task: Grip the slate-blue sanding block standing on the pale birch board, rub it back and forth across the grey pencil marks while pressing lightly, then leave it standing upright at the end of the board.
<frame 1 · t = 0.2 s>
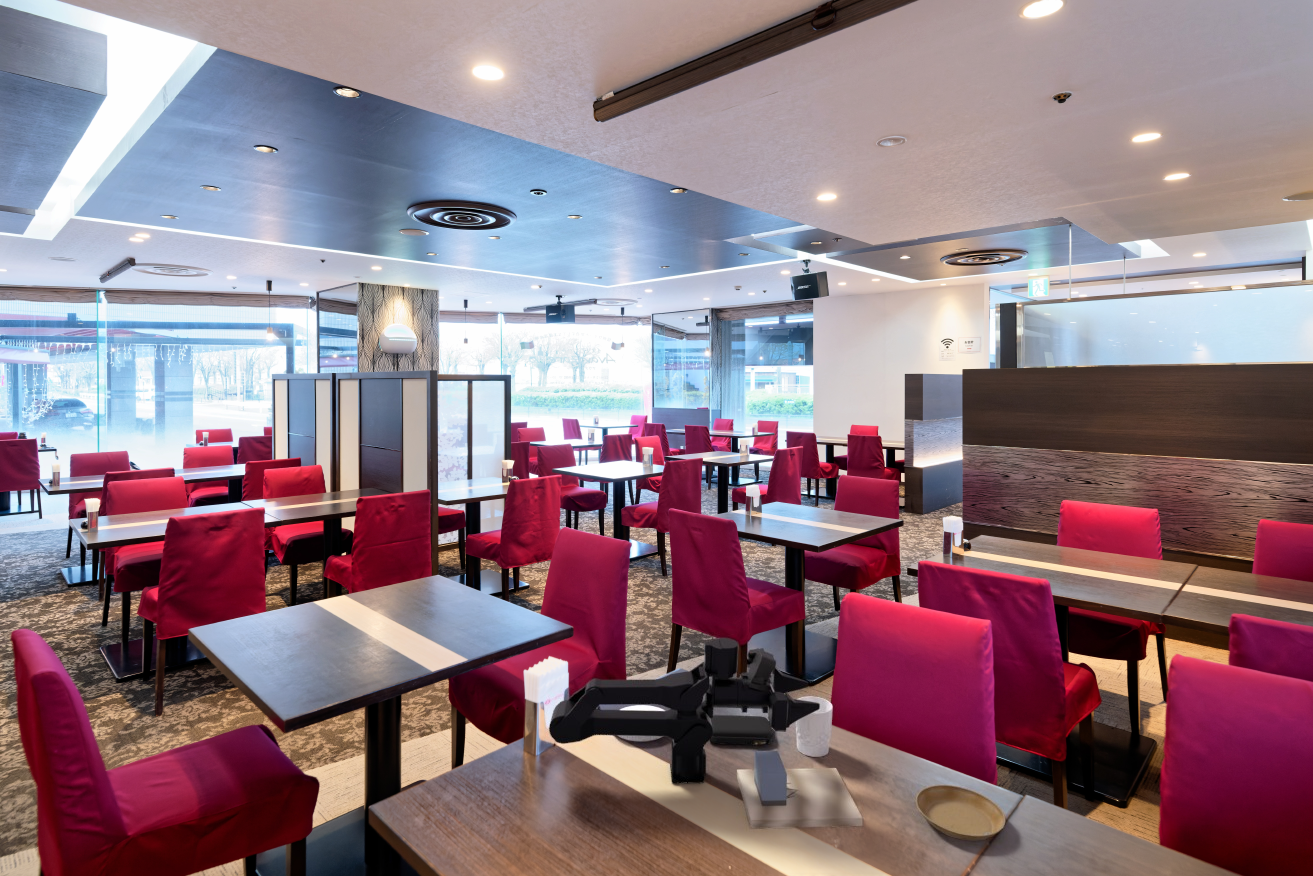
hand: (813, 694, 136), 16 cm above the table, tool horizontal, fingers open, 9 cm apart
sanding block: (769, 792, 128), point 2 cm above the table, touching board
white cup: (812, 750, 147), on the table
plant saucer: (958, 823, 123), on the table
carrying case or bag: (739, 738, 152), on the table
plastic lid: (641, 730, 156), on the table
board: (795, 800, 129), on the table
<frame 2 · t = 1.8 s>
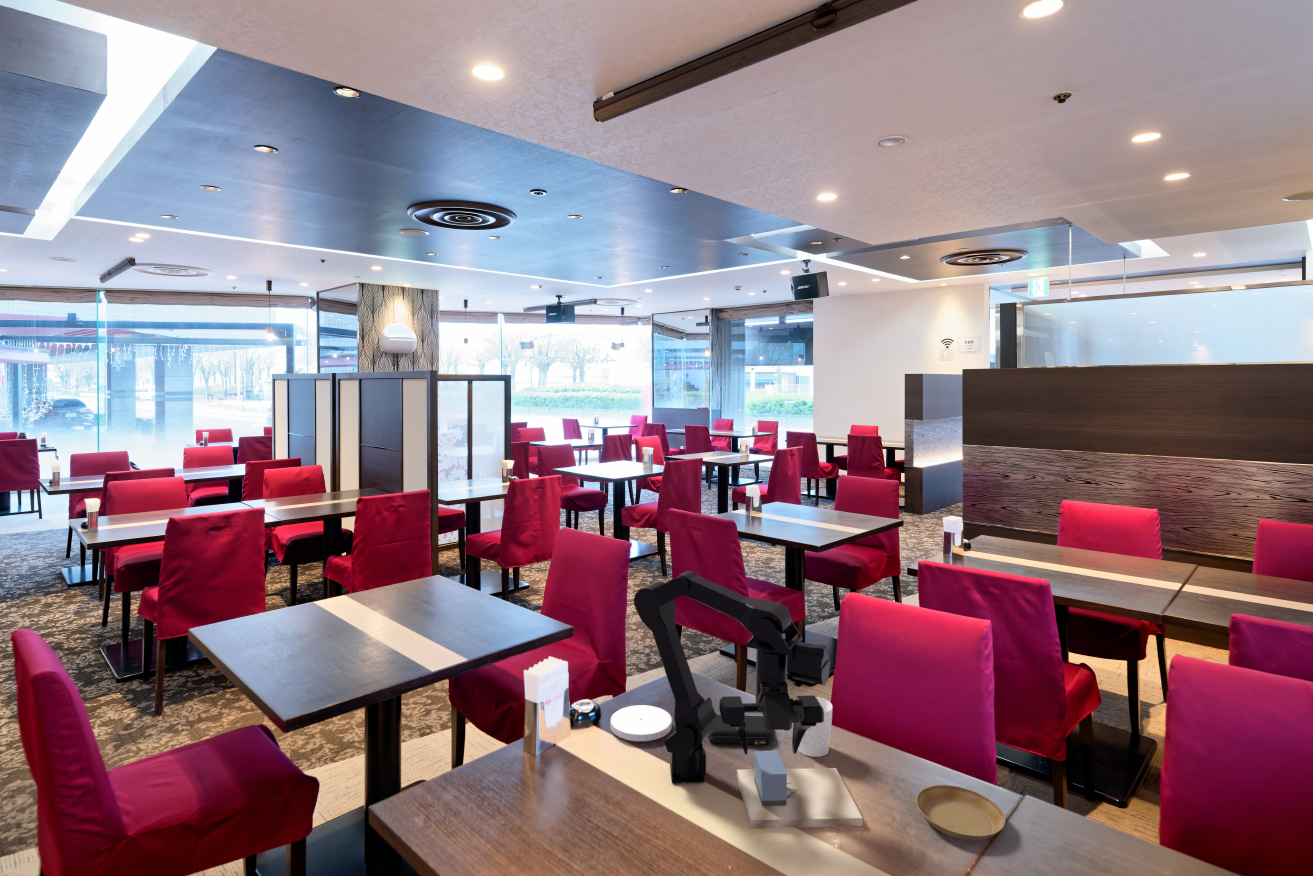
hand: (770, 753, 128), 9 cm above the table, tool pointing down, fingers open, 9 cm apart
nothing on the table moved.
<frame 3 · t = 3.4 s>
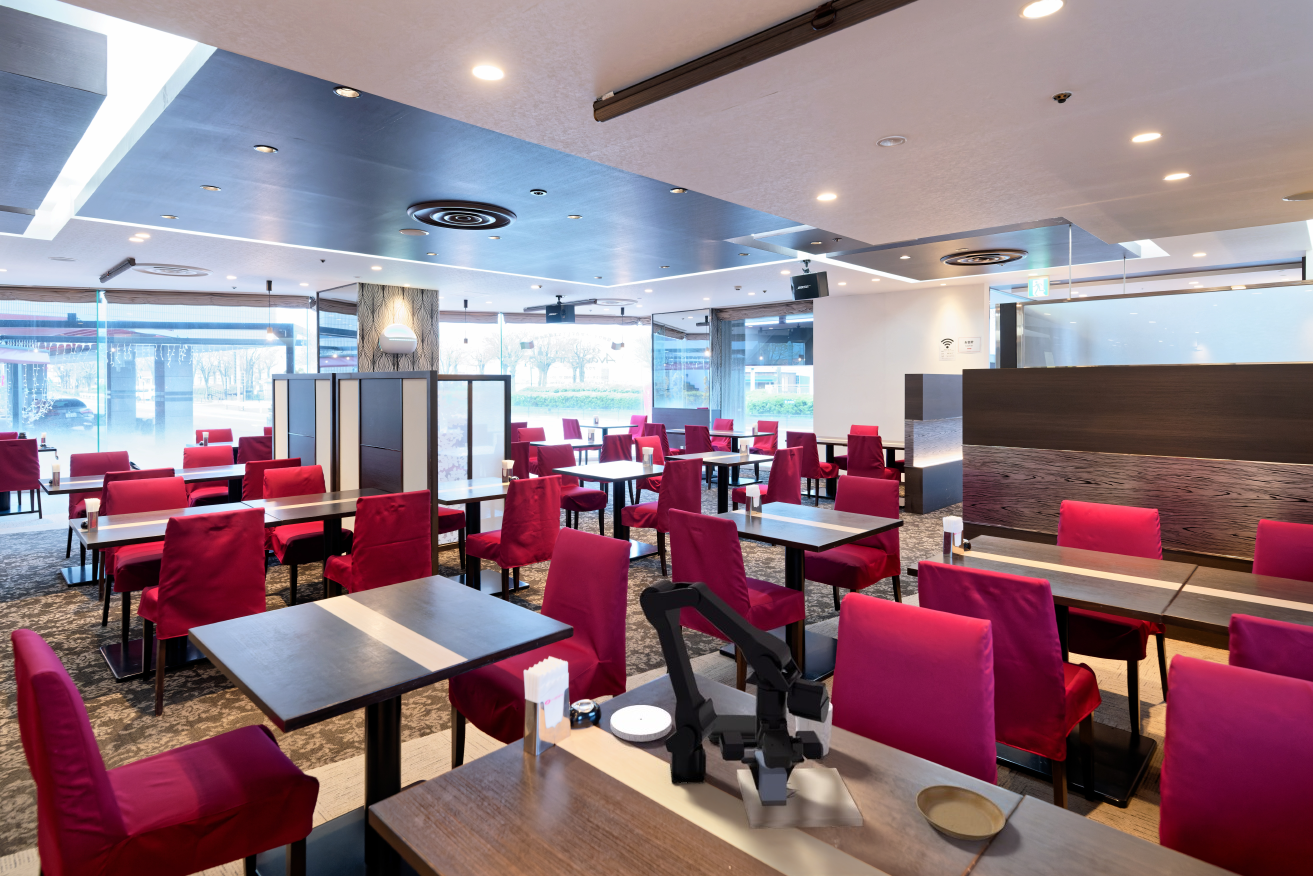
hand: (769, 788, 128), 2 cm above the table, tool pointing down, fingers closed on sanding block, 4 cm apart
sanding block: (769, 792, 128), point 2 cm above the table, touching board, gripper
everything else where it was.
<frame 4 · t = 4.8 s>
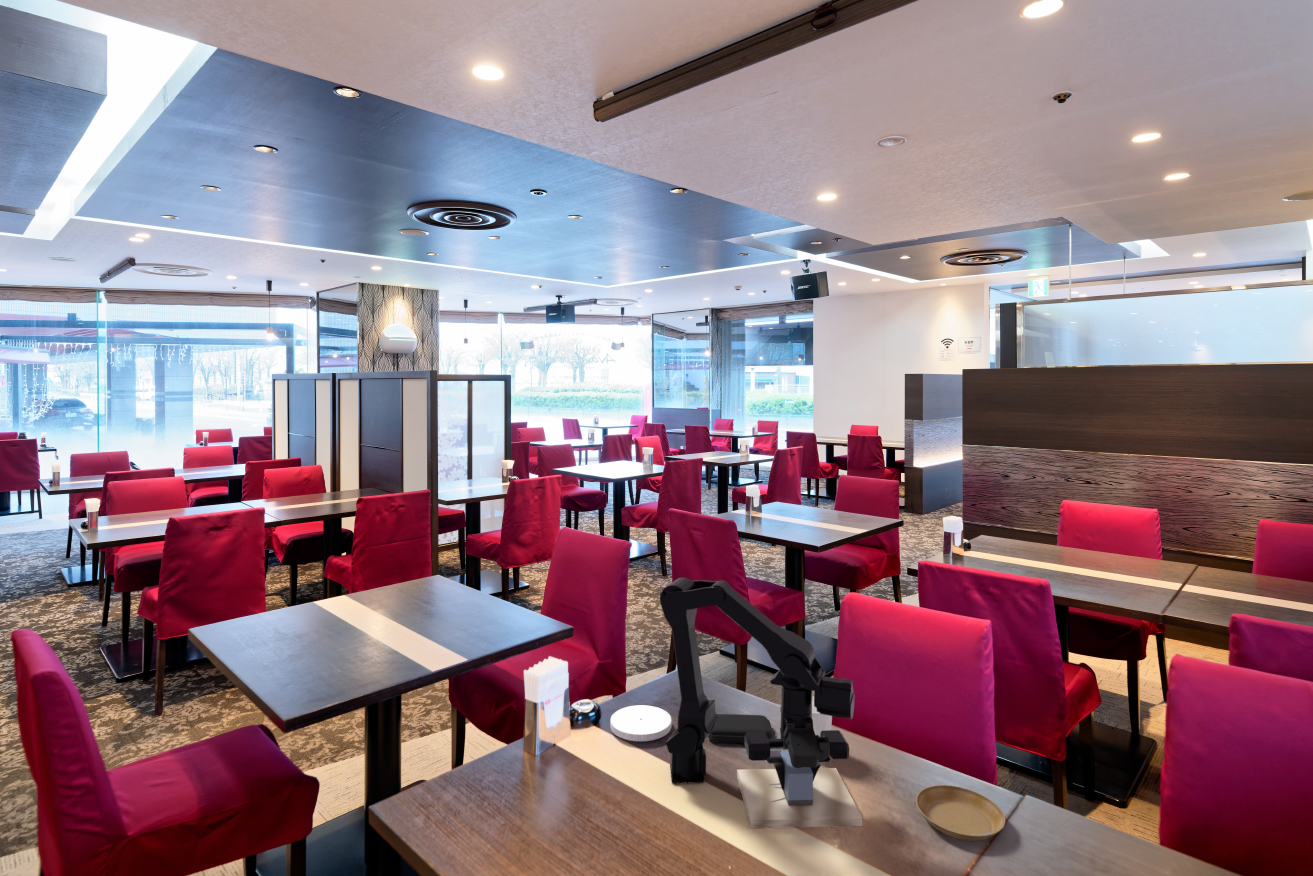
hand: (795, 788, 128), 2 cm above the table, tool pointing down, fingers closed on sanding block, 4 cm apart
sanding block: (795, 792, 128), point 2 cm above the table, touching gripper
everything else where it was.
when the fingers open (2 cm above the table, at t = 6.4 s): sanding block stays where it is, resting on board.
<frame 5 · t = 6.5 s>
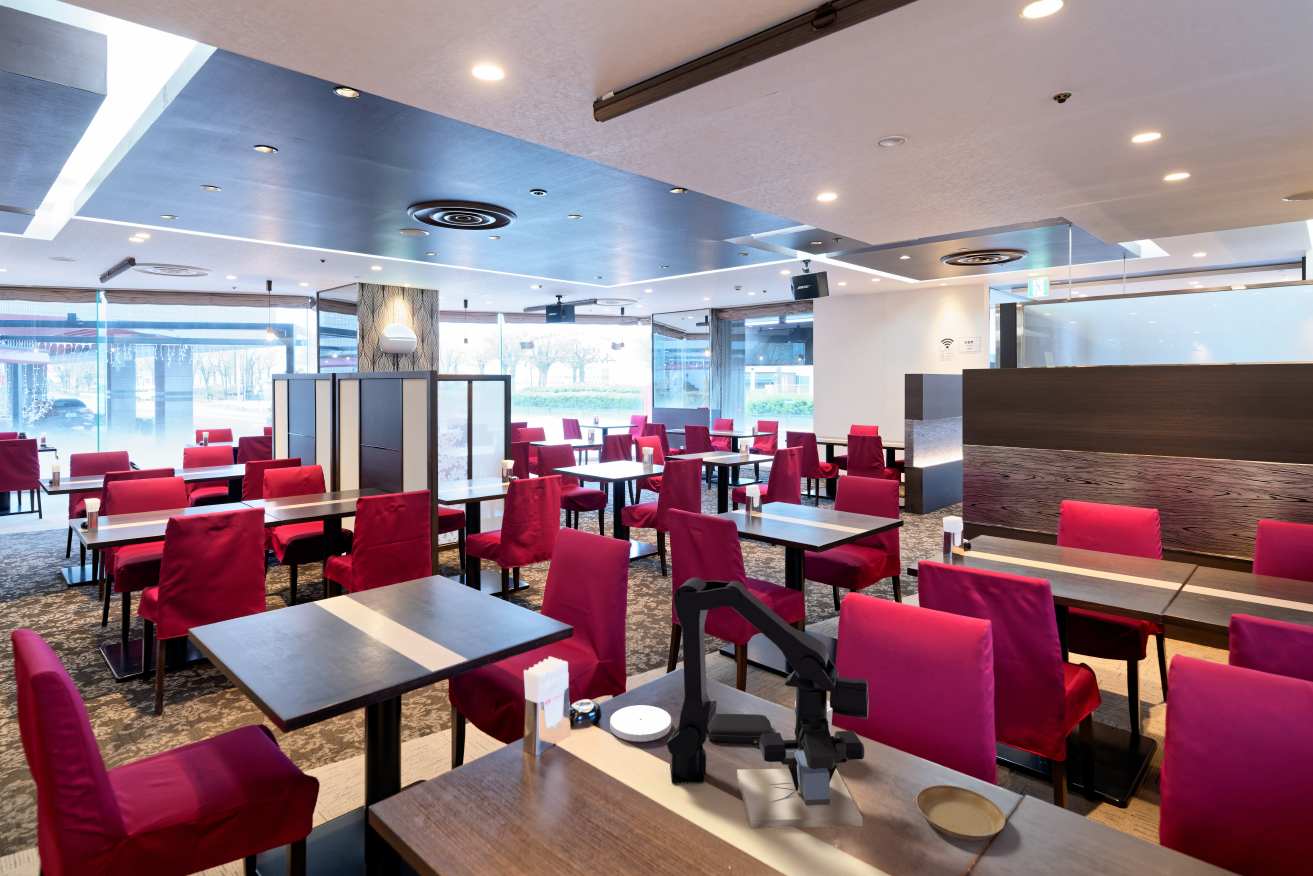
hand: (810, 789, 128), 2 cm above the table, tool pointing down, fingers open, 5 cm apart
sanding block: (812, 791, 129), point 2 cm above the table, touching board, gripper
everything else where it was.
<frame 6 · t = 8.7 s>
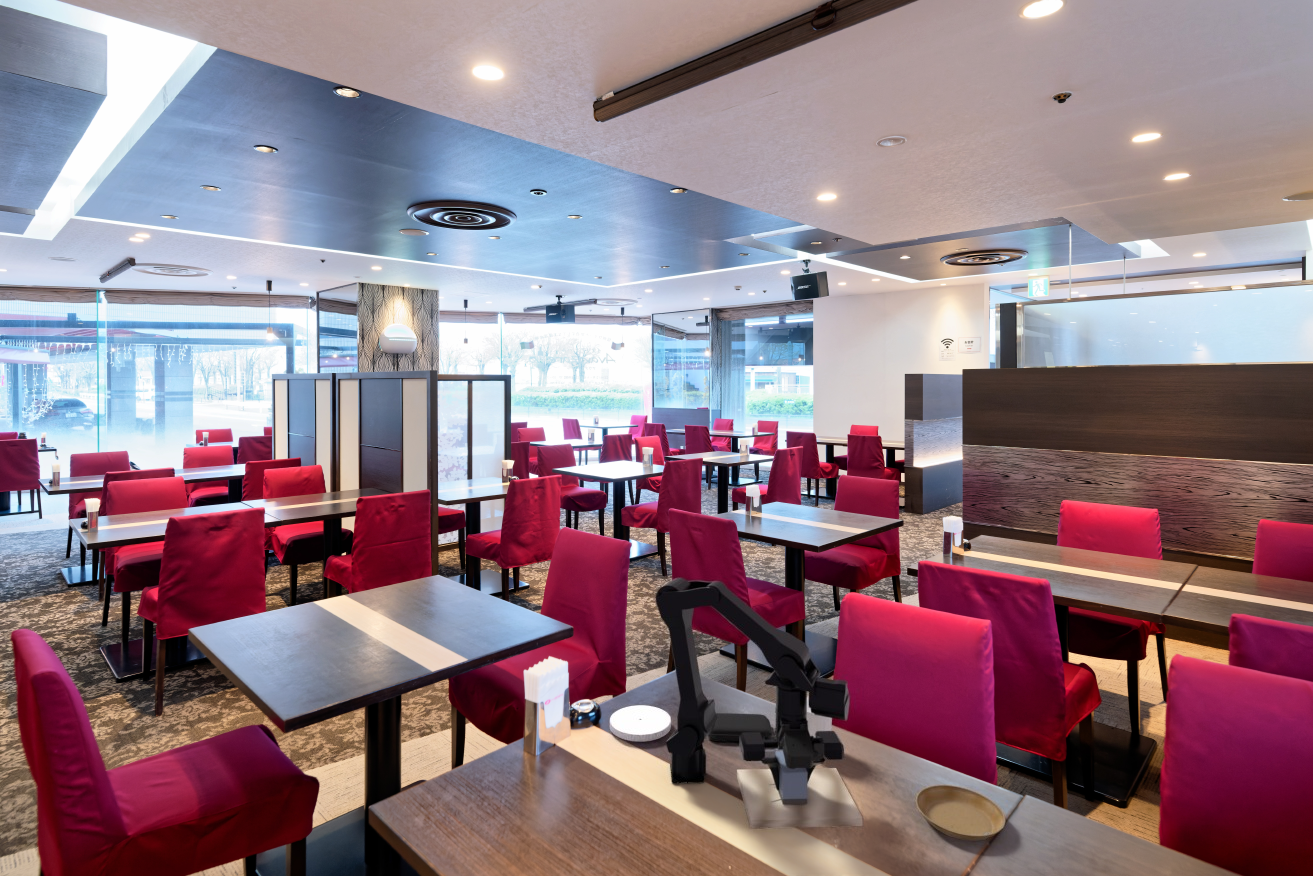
hand: (790, 789, 128), 2 cm above the table, tool pointing down, fingers closed on sanding block, 4 cm apart
sanding block: (790, 791, 128), point 2 cm above the table, touching gripper
everything else where it was.
when the fingers open (2 cm above the table, at t = 11.0 s): sanding block stays where it is, resting on board.
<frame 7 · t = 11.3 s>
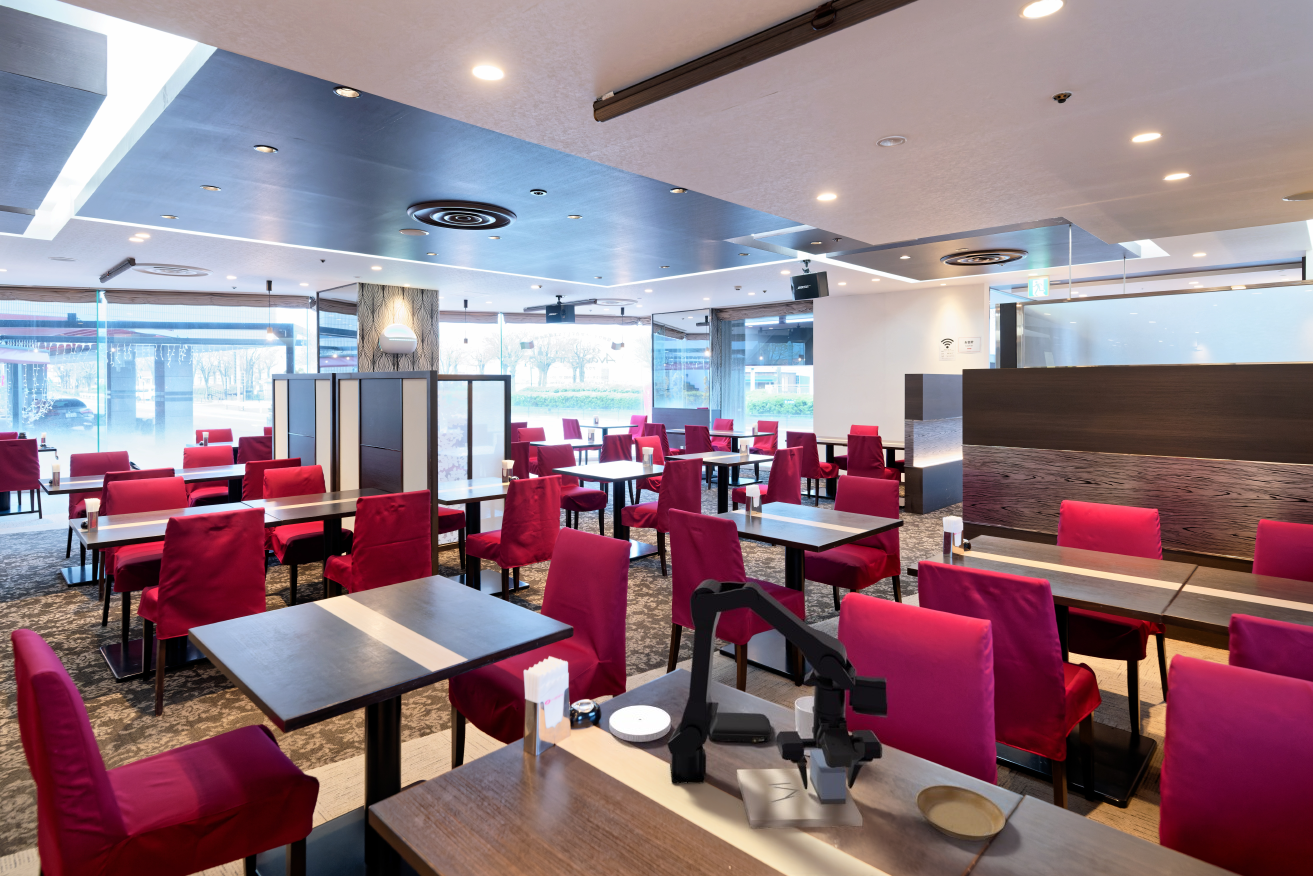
hand: (827, 787, 129), 2 cm above the table, tool pointing down, fingers open, 8 cm apart
sanding block: (827, 791, 129), point 1 cm above the table, touching board
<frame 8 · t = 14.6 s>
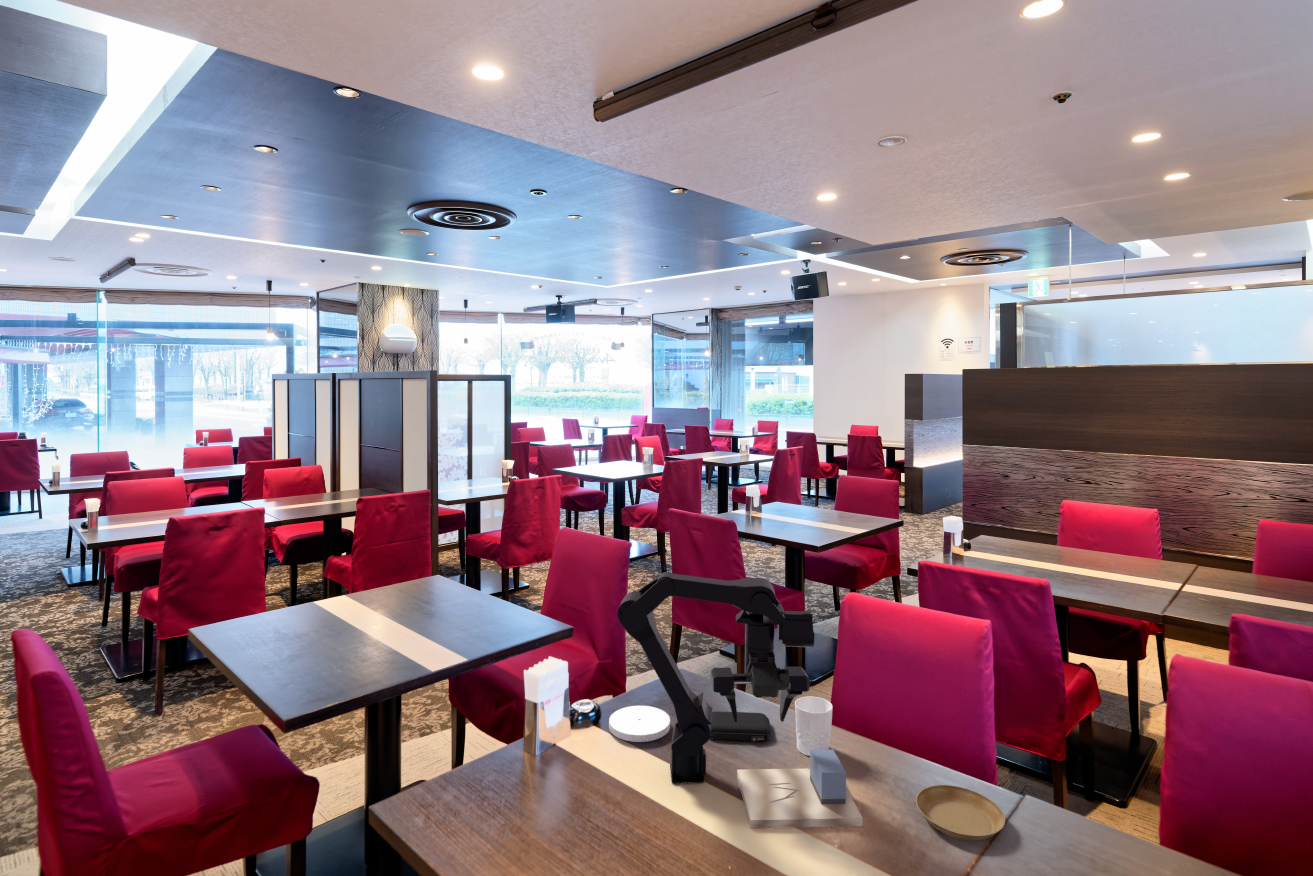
hand: (758, 721, 134), 12 cm above the table, tool pointing down, fingers open, 9 cm apart
at the end: sanding block inside the target area on the board (0.3 cm from its centre), point 1.5 cm above the board's base; sanding block tilted 0°; the gripper is holding nothing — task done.
